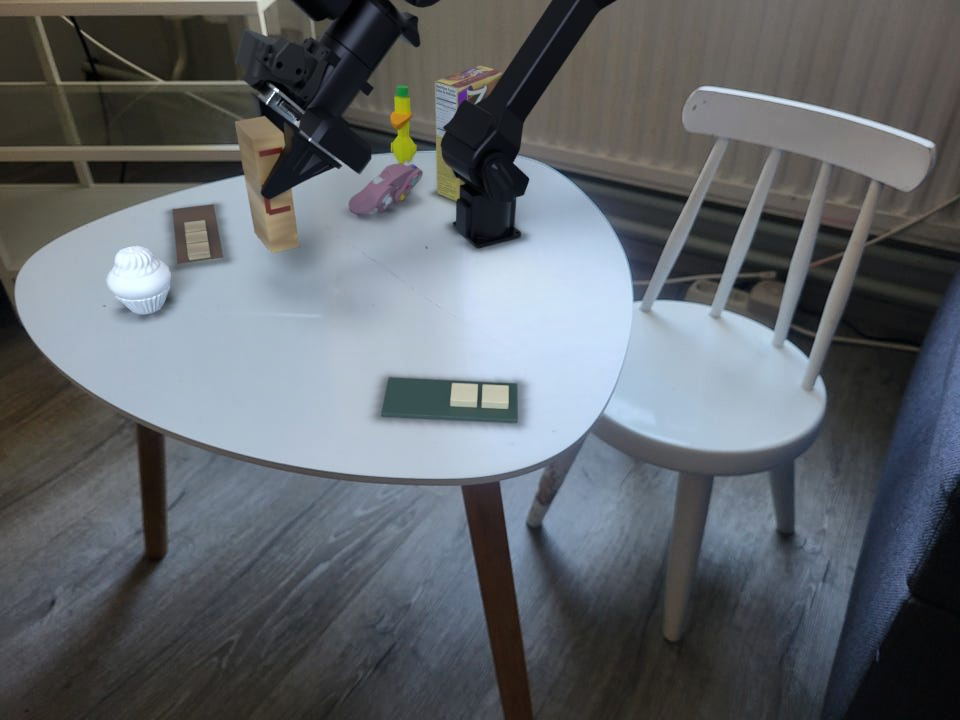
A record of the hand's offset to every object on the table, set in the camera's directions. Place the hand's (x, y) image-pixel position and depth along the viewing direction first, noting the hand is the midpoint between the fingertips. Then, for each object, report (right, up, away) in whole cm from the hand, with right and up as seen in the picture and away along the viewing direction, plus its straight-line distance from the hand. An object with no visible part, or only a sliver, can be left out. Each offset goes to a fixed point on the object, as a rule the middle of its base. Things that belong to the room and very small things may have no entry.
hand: (254, 185), depth 73 cm
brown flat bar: (-12, -2, +17) cm, 21 cm away
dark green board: (+19, -21, -5) cm, 29 cm away
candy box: (+20, +6, +30) cm, 37 cm away
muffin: (-13, -12, +5) cm, 18 cm away
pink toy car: (+10, +3, +25) cm, 27 cm away
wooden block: (+1, -5, +5) cm, 7 cm away
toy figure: (+11, +9, +33) cm, 36 cm away
